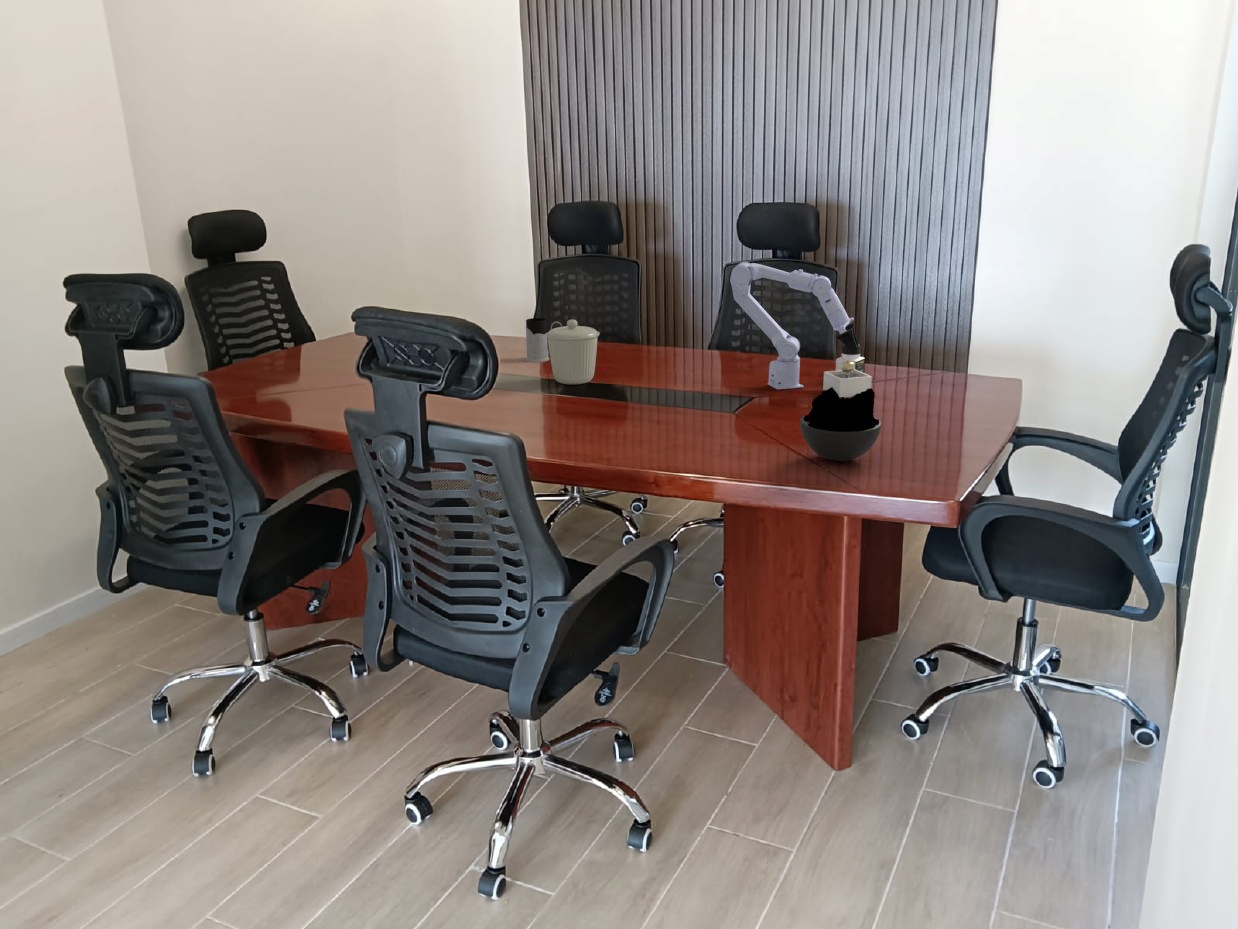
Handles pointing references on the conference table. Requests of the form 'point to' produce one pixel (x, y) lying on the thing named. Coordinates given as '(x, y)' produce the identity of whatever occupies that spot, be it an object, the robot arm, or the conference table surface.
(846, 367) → the plunger
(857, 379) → the white open box
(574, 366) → the canister
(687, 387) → the conference table surface
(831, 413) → the coal bowl
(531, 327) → the glass holder
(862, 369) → the medicine bottle
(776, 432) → the conference table surface
